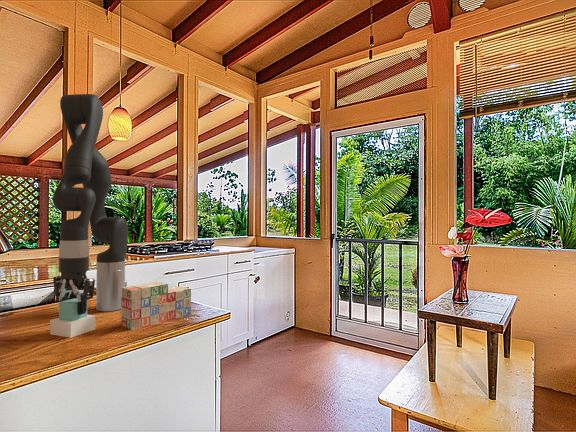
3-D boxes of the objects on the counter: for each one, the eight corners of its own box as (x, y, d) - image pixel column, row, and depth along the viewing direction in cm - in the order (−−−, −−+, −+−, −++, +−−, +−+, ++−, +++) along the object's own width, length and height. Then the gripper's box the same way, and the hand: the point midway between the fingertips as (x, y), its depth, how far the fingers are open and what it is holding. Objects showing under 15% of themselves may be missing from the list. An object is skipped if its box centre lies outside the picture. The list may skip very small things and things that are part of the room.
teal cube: (74, 314, 105) (74, 298, 105) (87, 316, 103) (87, 299, 103) (58, 319, 100) (59, 302, 100) (71, 321, 98) (72, 303, 98)
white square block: (75, 325, 107) (75, 312, 107) (95, 329, 104) (95, 315, 104) (50, 334, 99) (50, 320, 99) (70, 337, 97) (70, 323, 97)
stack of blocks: (180, 311, 124) (181, 277, 124) (191, 315, 120) (191, 279, 120) (120, 326, 107) (121, 286, 107) (130, 330, 104) (131, 289, 104)
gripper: (103, 255, 103) (103, 312, 103) (68, 252, 107) (67, 307, 108) (81, 258, 96) (80, 319, 96) (43, 255, 100) (43, 313, 100)
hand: (73, 312), depth 102 cm, fingers open, 6 cm apart
